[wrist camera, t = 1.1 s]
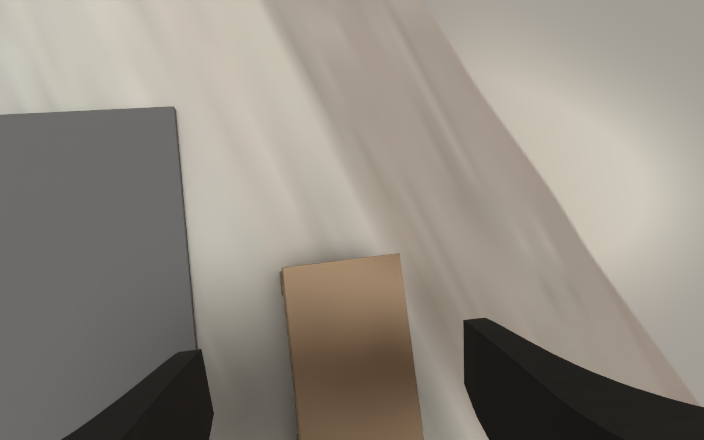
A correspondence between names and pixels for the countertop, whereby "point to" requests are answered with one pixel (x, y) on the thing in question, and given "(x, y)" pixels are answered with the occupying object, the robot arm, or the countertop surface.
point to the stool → (351, 350)
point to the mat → (88, 263)
